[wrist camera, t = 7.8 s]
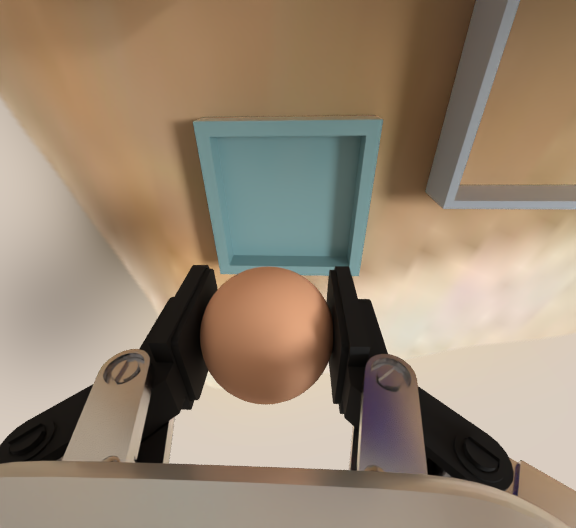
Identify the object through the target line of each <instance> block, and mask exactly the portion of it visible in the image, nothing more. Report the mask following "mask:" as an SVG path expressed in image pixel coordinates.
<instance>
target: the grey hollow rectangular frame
mask: <svg viewBox="0 0 576 528" xmlns="http://www.w3.org/2000/svg"><path fill="white" fill-rule="evenodd" d="M519 3H520V0H476V2H475V6H474V9H473V13H472V17H471V21H470V24H469V28H468V32H467V36H466V40H465V43H464V47H463V51H462V55H461V58H460V62H459V66H458V70H457V74H456V77H455V81H454V85H453V89H452V92H451V96H450V100H449V104H448V108H447V111H446V115H445V119H444V123H443V126H442V130H441V134H440V138H439V142H438V145H437V149H436V153H435V157H434V160H433V164H432V168H431V172H430V176H429V179H428V183H427V187H426V191H425V192H426V193H427V194H428V195H429V196H430V197H431V198H432V199H433V200H434V201H435V202H436V203H437V204H438V205H440V206H441V207H442V208H443V209H576V185H459V184H460V181H461V178H462V175H463V172H464V169H465V166H466V163H467V160H468V157H469V154H470V151H471V148H472V145H473V142H474V139H475V136H476V133H477V130H478V127H479V124H480V121H481V118H482V115H483V112H484V109H485V106H486V103H487V100H488V97H489V94H490V90H491V87H492V84H493V81H494V78H495V75H496V72H497V69H498V66H499V63H500V60H501V57H502V54H503V51H504V48H505V45H506V42H507V39H508V36H509V33H510V30H511V27H512V24H513V21H514V18H515V15H516V12H517V9H518V6H519Z"/></svg>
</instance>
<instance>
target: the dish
mask: <svg viewBox="0 0 576 528" xmlns="http://www.w3.org/2000/svg"><path fill="white" fill-rule="evenodd" d="M382 124H383V119H381V118H380V117H378V116H376V115H348V116H262V117H203V118H200V119H198V120H195V121H193V125H194V131H195V136H196V142H197V147H198V153H199V158H200V164H201V169H202V175H203V180H204V185H205V191H206V196H207V202H208V207H209V213H210V218H211V224H212V229H213V235H214V240H215V245H216V251H217V256H218V262H219V267H220V273H221V274H239V273H241V272H243V271H246V270H248V269H252V268H257V267H279V268H284V269H287V270H291V271H293V272H295V273H298V274H299V275H323V276H329V270H334V268H335V266H349V268H350V271H351V275H352V276H359V272H360V265H361V259H362V253H363V246H364V240H365V233H366V227H367V220H368V214H369V208H370V201H371V195H372V188H373V182H374V176H375V169H376V163H377V156H378V150H379V144H380V137H381V131H382Z"/></svg>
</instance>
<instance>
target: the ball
mask: <svg viewBox="0 0 576 528" xmlns="http://www.w3.org/2000/svg"><path fill="white" fill-rule="evenodd" d="M200 345H201V351H202V355H203V359H204V361H205V364H206V366H207V368H208V370H209V372H210V373H211V375H212V376H213V378H214V379H215V380H216V382H217V383H218V384H219V385H220V386H221V387H222V388H224V389H225V390H226V391H227V392H228V393H230V394H232V395H233V396H235V397H237V398H239V399H242V400H244V401H247V402H251V403H255V404H275V403H280V402H284V401H288V400H291V399H293V398H295V397H297V396H299V395H300V394H302V393H304V392H305V391H306V390H308V389H309V388H310V387H311V386H312V385H313V384H314V383H315V382H316V381H317V380H318V378H319V377H320V376H321V375H322V373H323V371H324V370H325V368H326V366H327V364H328V362H329V359H330V356H331V353H332V349H333V320H332V315H331V312H330V309H329V307H328V305H327V302H326V301H325V299H324V297H323V296H322V294H321V293H320V292H319V290H318V289H317V288H316V287H315V286H314V285H313V284H312V283H311V282H310V281H308V280H307V279H306V278H304V277H303V276H301V275H299V274H298V273H295V272H293V271H291V270H287V269H284V268H279V267H257V268H252V269H248V270H246V271H243V272H241V273H239V274H237V275H235V276H233V277H232V278H230V279H229V280H228V281H226V282H225V283H224V284H223V285H222V286H221V287H220V288H219V289H218V290H217V291H216V292H215V294H214V295H213V296H212V298H211V299H210V301H209V303H208V305H207V307H206V309H205V312H204V315H203V318H202V322H201V329H200Z"/></svg>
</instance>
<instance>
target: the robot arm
mask: <svg viewBox="0 0 576 528" xmlns="http://www.w3.org/2000/svg"><path fill="white" fill-rule="evenodd" d="M217 290H218V289H217V284H216V279H215V274H214V270H213V269H209V266H208V265H193V266H192V268H191V269H190V271H189V273H188V274H187V276H186V278H185V280H184V281H183V283H182V285H181V286H180V288H179V290H178V292H177V293H176V295H175V297H171V298H170V299H169V300H168V302H167V304H166V305H165V307H164V309H163V310H162V312H161V314H160V315H159V317H158V319H157V320H156V322H155V324H154V325H153V327H152V329H151V331H150V332H149V334H148V335H147V337H146V339H145V341H144V342H143V344H142V345H141V347H140V349H130V350H126V351H123V352H121V353H118V354H116V355H115V356H113V357H112V358H110V359H109V360H108V361H107V362H106V363H105V364H104V365H103V366H102V367H101V369H100V371H99V372H98V375H97V377H96V380H95V382H94V384H93V385H91V386H89V387H87V388H85V389H84V390H82V391H80V392H78V393H77V394H75V395H73V396H71V397H69V398H68V399H66V400H64V401H62V402H60V403H59V404H57V405H55V406H53V407H52V408H50V409H48V410H46V411H44V412H42V413H41V414H39V415H37V416H35V417H33V418H32V419H30V420H28V421H26V422H25V423H23V424H22V425H21V426H19V427H17V428H16V429H15V430H14V431H13V432H12V433H11V434H9V436H7V438H6V439H5V440H4V441H3V443H2V444H1V445H0V528H576V491H574V490H573V489H571V488H569V487H567V486H566V485H564V484H562V483H560V482H559V481H557V480H555V479H553V478H552V477H550V476H548V475H547V474H545V473H543V472H541V471H539V470H538V469H536V468H534V467H532V466H531V465H529V464H527V463H526V462H524V461H522V460H520V461H519V462H516V461H514V460H512V459H511V458H509V457H508V455H507V453H506V452H505V451H504V450H503V448H502V447H501V446H500V445H499V444H498V442H497V441H495V440H494V439H493V438H492V437H491V436H489V435H488V434H487V433H485V432H484V431H482V430H481V429H479V428H478V427H476V426H475V425H474V424H472V423H471V422H469V421H468V420H466V419H465V418H463V417H462V416H460V415H459V414H457V413H456V412H455V411H453V410H452V409H450V408H449V407H447V406H446V405H444V404H443V403H441V402H440V401H439V400H437V399H436V398H434V397H433V396H431V395H430V394H428V393H427V392H426V391H424V390H423V389H421V388H420V387H418V385H417V378H416V375H415V372H414V371H413V369H412V368H411V366H410V365H409V364H407V363H406V362H405V361H404V360H402V359H400V358H399V357H396V356H393V355H390V354H388V353H387V350H386V347H385V343H384V340H383V337H382V334H381V331H380V328H379V325H378V322H377V318H376V315H375V312H374V309H373V306H372V303H371V301H370V300H369V299H358V298H357V294H356V290H355V286H354V283H353V279H352V275H351V271H350V268H349V266H335V268H334V270H329V279H328V292H327V305H328V307H329V309H330V312H331V315H332V320H333V349H332V353H331V356H330V359H329V368H330V377H331V387H332V397H333V403H334V404H339V410H340V414H344V417H345V419H347V420H348V421H349V422H350V423H351V424H352V425H353V430H352V441H351V452H350V464H349V470H329V469H304V468H279V467H278V468H277V467H251V466H250V467H249V466H224V465H195V464H169V459H170V451H171V444H172V436H173V428H174V421H175V416H176V415H178V414H179V413H180V411H181V409H187V410H191V409H192V406H193V403H194V400H198V399H199V398H200V395H201V392H202V389H203V385H204V383H205V379H206V376H207V373H208V368H207V366H206V364H205V361H204V359H203V355H202V351H201V345H200V329H201V322H202V318H203V315H204V312H205V309H206V307H207V305H208V303H209V301H210V299H211V298H212V296H213V295H214V294H215V292H216V291H217Z"/></svg>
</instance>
